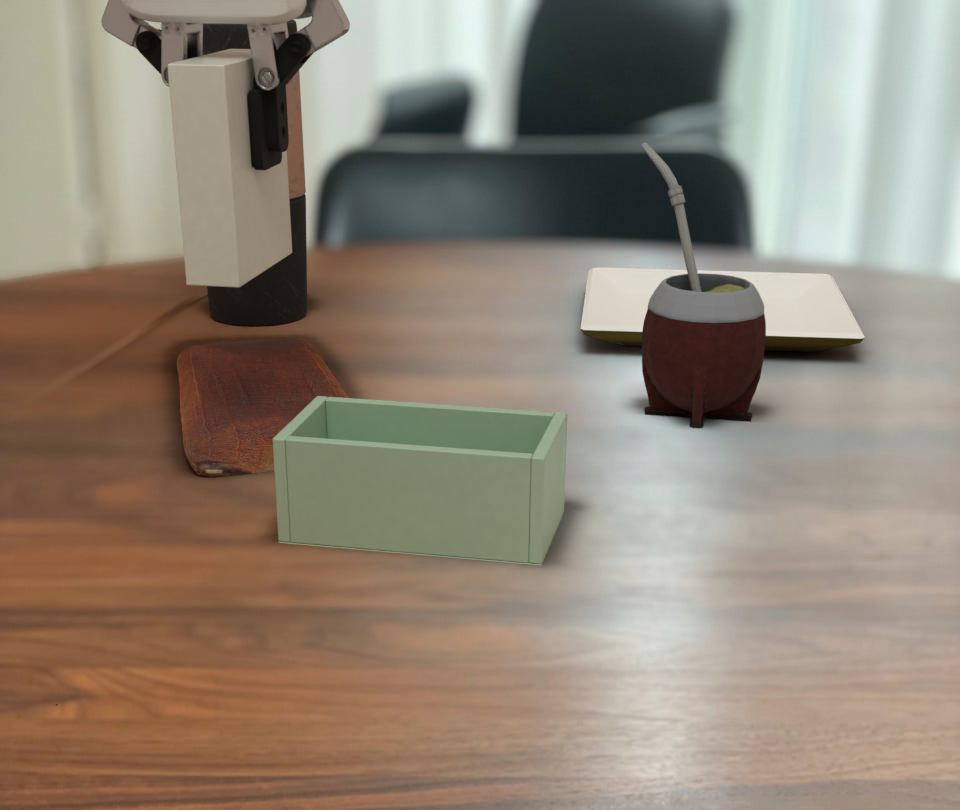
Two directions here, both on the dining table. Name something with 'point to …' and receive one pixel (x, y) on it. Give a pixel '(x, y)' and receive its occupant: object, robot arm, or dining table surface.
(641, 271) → the plate
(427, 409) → the bin
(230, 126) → the rectangular block
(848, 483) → the dining table surface
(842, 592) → the dining table surface
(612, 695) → the dining table surface
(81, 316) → the dining table surface
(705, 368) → the mate gourd
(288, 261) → the travel mug
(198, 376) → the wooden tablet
